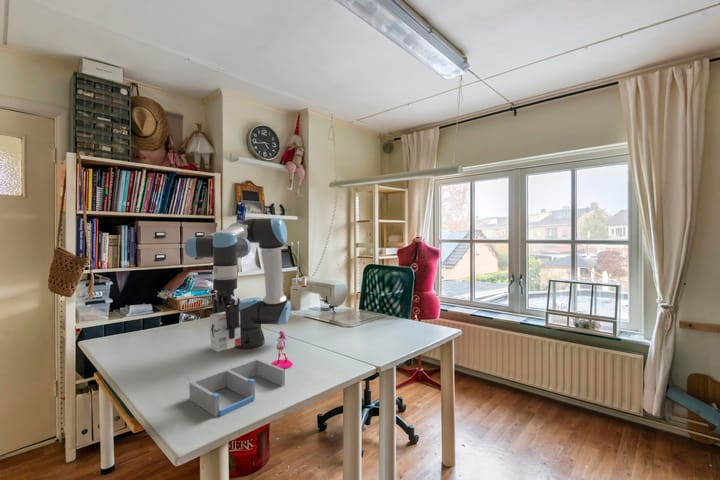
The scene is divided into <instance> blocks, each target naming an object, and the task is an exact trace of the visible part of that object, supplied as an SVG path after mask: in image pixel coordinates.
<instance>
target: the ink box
mask: <svg viewBox="0 0 720 480" xmlns="http://www.w3.org/2000/svg"><path fill="white" fill-rule="evenodd" d="M209 317H210V321H209V323H210V325H209V326H210V328H209V329H210V349H211V350H213V351H215V352H221V351H224V350H227V349H226V328H227V321H226V314H225V312H221V313H215V314H213V313H212V314H210V315H209ZM239 345H241V339H240V312H239V327H237V328H235V346H239Z"/></svg>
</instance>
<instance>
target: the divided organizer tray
mask: <svg viewBox="0 0 720 480" xmlns="http://www.w3.org/2000/svg"><path fill="white" fill-rule="evenodd" d="M285 375H286V369H282V368H280V367H277V366H275V365H272V364H271V363H269V362H267V361H264V360H261V358H260V359H259V358H255V359H253V360H249V361H247V362H244V363H241V364H239V365H236V366H233V367H230V368H227V369H224V370H220V371H218V372H215V373H212V374H210V375H207V376H203V377H200V378H198V379H195V380H192V381H189V386H188V387H189V388H188V390H189V401H191V402H193V403H195V404H196V405H197V406H199V407H200V408H201V409H202V410H205V411H207V413H209V414H210V415H212V416H213V417H218V416H219V417H223V416H224V415H226V414H229V413H231V412H233V411H236V410H238V409H240V408H242V407H245V406H247V405H249V404H251V403H252V402H254V400H256V379H253V378H252V377H255V376H259V377H260V378H263V379H265V380H267V381H270V382H272V383H274V384H276V385H278V386H281V387H285V385H286V379H285V378H286V376H285ZM224 387H225V388H228V389H230V390H232V391H234V392H236V393H238V394H240V395H242V396H243V397H245V398H244V399H242V400H241V399H240V400H239V401H237V402H235V403H232V404H230V405H227V406H225V407H223V408H221V409H220V394H219V393H218V392H217V391H219V389H220V390H222V389H224ZM221 388H222V389H221ZM216 390H217V391H216Z"/></svg>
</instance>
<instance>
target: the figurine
mask: <svg viewBox="0 0 720 480" xmlns="http://www.w3.org/2000/svg"><path fill="white" fill-rule="evenodd" d="M278 334H279V336H278V337H277V339H276V341H277V344H276V347H275V348H276V350H278V351H277V352H278V358H277V360H274V361H272V362H271V363H270V364H272V365H275V366H277V367H280V368H282V369H285V370H287V369H289V368H291V367H292V366H293V365H294V364H293V362H292V361H291V360H289V359H288V357H287V356H286V353H285V352H284V349H288V347H287V346H286V340H287V337H286V335H285V331H284V330H280V331H279V332H278ZM281 355H283V356H284V359H281Z"/></svg>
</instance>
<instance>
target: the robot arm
mask: <svg viewBox="0 0 720 480" xmlns="http://www.w3.org/2000/svg"><path fill="white" fill-rule="evenodd" d="M287 240H288V229H287V225H286V224H285V222H284V221H283V219H281V218H279V219H278V218H274V217H273V218H248V219H244V220H240V221H237V222H234V223H232V224H230V225H228V227H227V228H223V229H221V230H218V231H216V232H212V233H210V234H207V235H204V236H201V237H200V236H194V237H188V238H187V239H186V240H185V243H184V252H185V255H186V256H187V257H189V258H196V259H203V258H204V259H205V258H207V259H208V258H209V259H210V258H212V260H213V261H212V262H213V263H212V266H213V267H212V268H213V269H212V275H213V281H212V284H213V285H212V288H213V291H216V293H214V294H211V299H212V314H215V313H221V312H225V314H226V321H227V328H226V349H225V350H229V349H232V348H236V349H240V350H249V349H255V348H260V347H261V346H263V345H265V342H266V338H265V336H264V333H263V330H262V325H275V326H276V325H278V326H279V325H285V324H287V323H288V322H289V319H290V316H291V311H292V310H291V309H292V302H291V301H289V300H288V298H287V296H286V295H285V293H284V281H283V280H284V279H283V264H282V263H283V262H282V249H283V247H285V246H284V245H285V244H286V243H287V242H288V241H287ZM252 243H253V244H258V247H259V249H260V250H262V257H263V258H262V259H263V273H264V288H265V296H264V298H263V299H262V297H258V296H257V297H256V296H254V297H249V298H245V299H241V300H240V298H239V297H235V296H236V295H235V290H237V288H238V278H237V277H238V259H240V258H241V259H242V258H244V257H246V256H249V255H248V254H250V252H251V250H252V245H251V244H252ZM239 312H240V339H241V345H239V346H235V328H237V327H239Z"/></svg>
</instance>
